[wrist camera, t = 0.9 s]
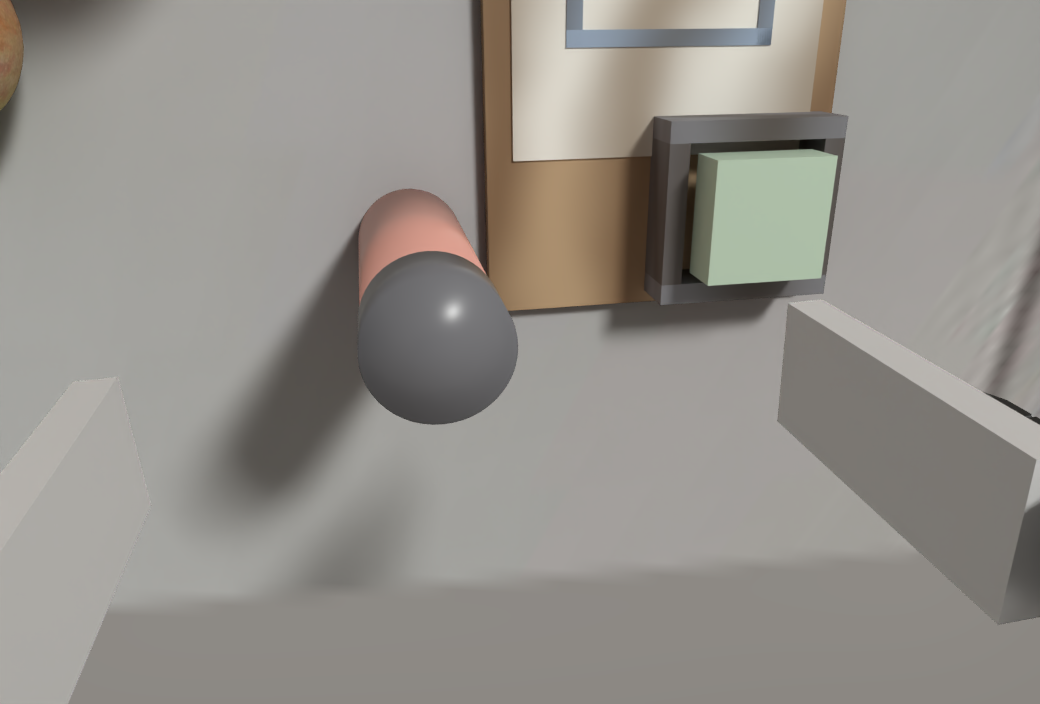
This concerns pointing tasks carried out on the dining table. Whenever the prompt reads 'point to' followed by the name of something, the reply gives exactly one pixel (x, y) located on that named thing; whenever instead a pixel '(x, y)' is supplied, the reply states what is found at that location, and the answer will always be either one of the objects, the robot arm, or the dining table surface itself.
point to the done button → (761, 215)
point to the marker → (428, 314)
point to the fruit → (9, 51)
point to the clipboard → (639, 135)
